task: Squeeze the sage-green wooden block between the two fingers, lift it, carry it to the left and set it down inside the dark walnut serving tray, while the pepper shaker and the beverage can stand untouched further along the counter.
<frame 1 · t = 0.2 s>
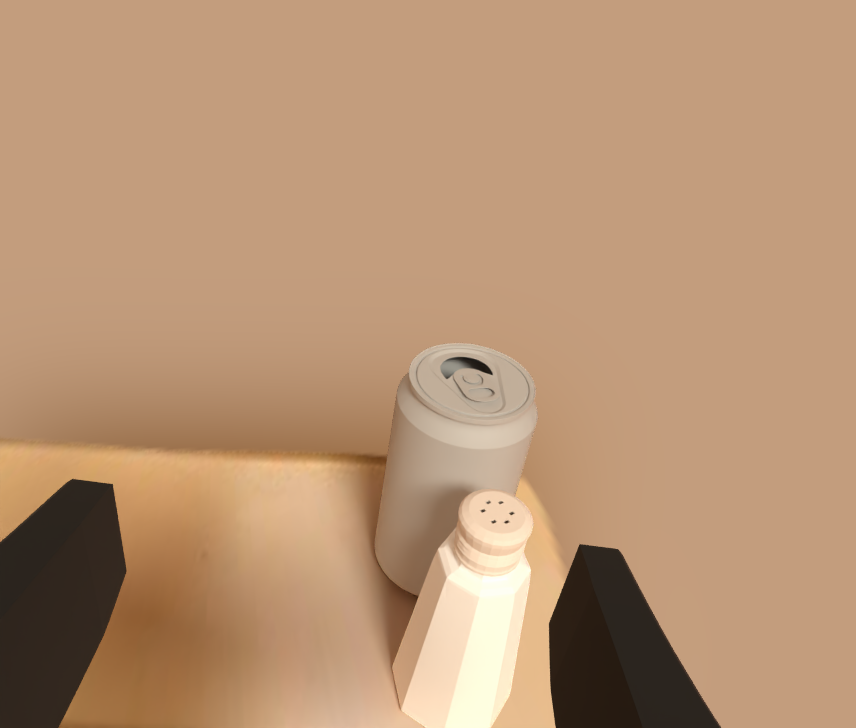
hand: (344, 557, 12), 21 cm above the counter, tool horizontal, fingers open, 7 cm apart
beverage can: (432, 561, 39), on the counter
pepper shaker: (449, 685, 34), on the counter
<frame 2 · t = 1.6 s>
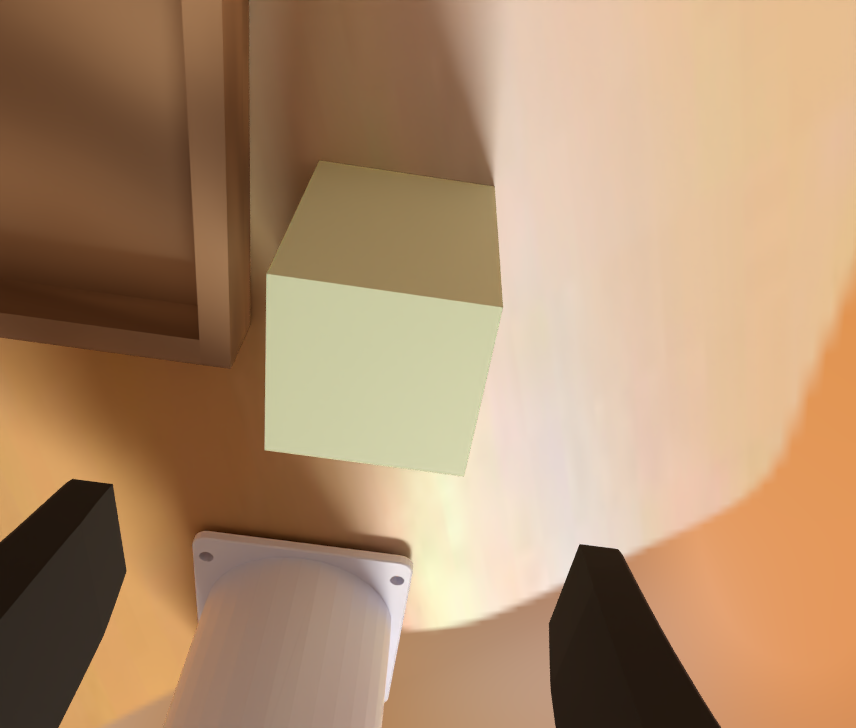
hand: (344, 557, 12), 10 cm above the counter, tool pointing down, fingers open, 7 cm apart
walnut tray: (22, 87, 18), on the counter
sage block: (397, 251, 20), on the counter
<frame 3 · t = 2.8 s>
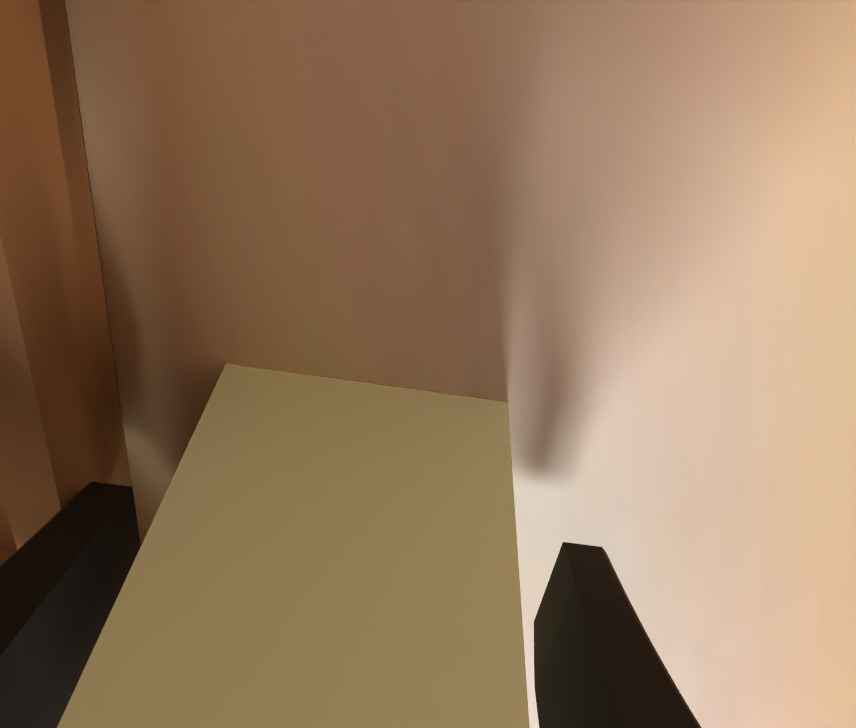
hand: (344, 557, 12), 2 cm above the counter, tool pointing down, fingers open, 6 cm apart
sage block: (356, 482, 13), on the counter
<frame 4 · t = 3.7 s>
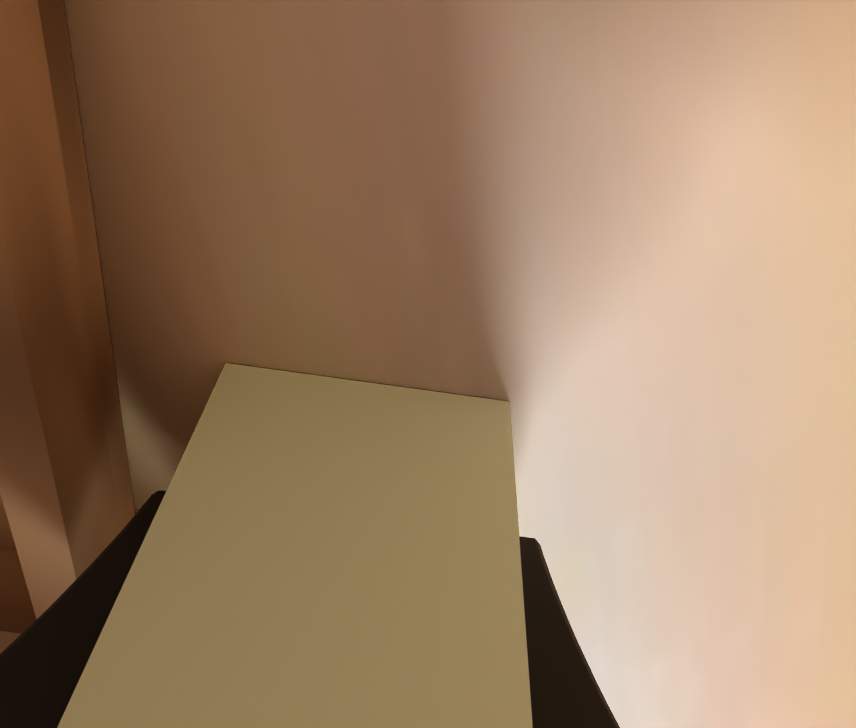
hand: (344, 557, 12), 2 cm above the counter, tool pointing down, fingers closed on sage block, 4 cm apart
sage block: (357, 483, 13), on the counter, touching gripper
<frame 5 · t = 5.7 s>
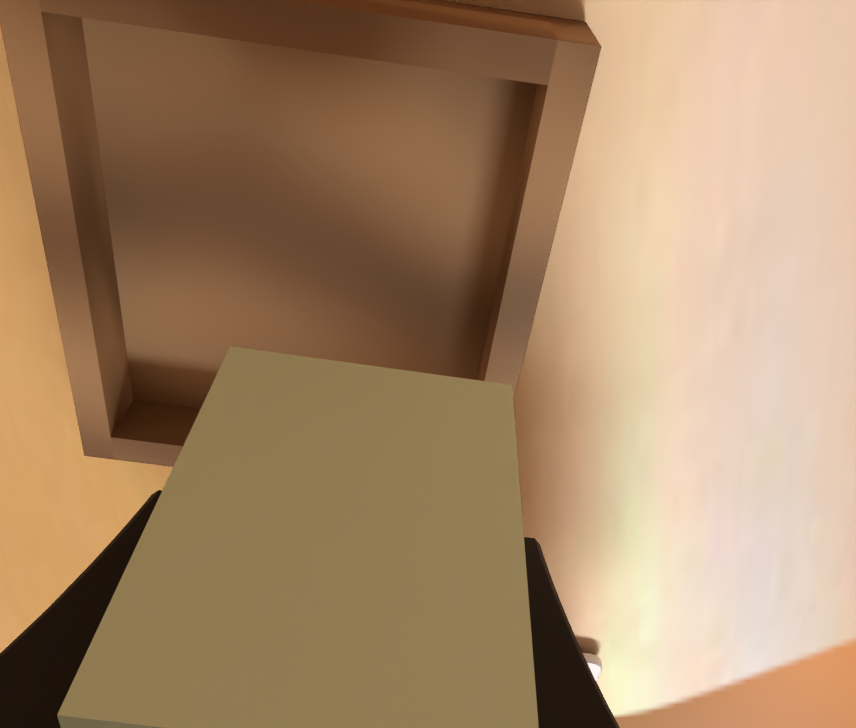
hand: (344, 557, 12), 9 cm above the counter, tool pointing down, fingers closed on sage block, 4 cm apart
walnut tray: (309, 247, 18), on the counter
sage block: (360, 468, 13), point 7 cm above the counter, touching gripper
when the fingers open (3 cm above the counter, at t = 8.1 s): sage block stays where it is, resting on walnut tray.
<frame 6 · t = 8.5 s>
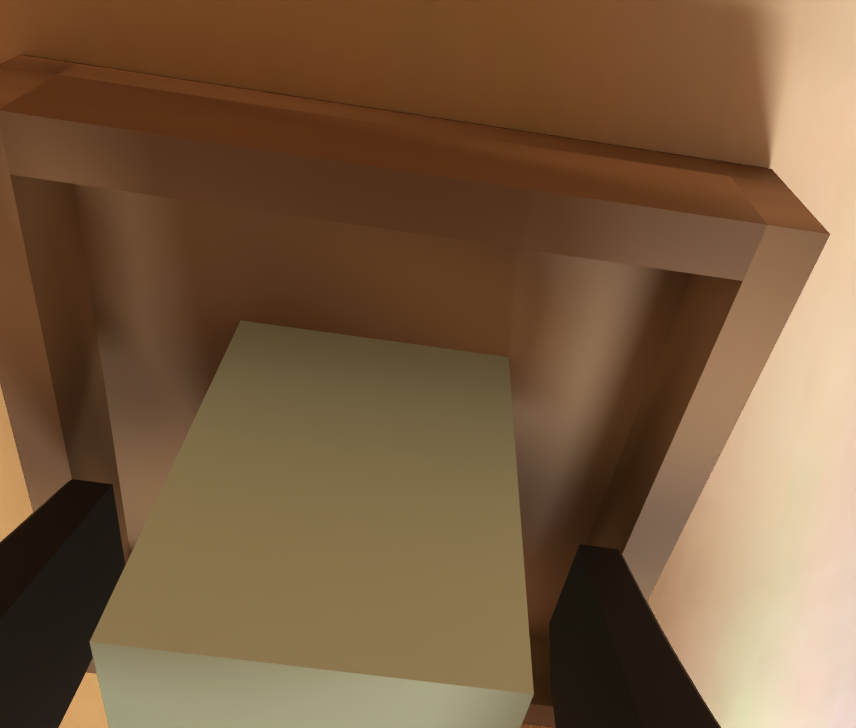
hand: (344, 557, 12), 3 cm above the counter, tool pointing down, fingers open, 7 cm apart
walnut tray: (367, 424, 14), on the counter
sage block: (364, 439, 14), point 1 cm above the counter, touching walnut tray
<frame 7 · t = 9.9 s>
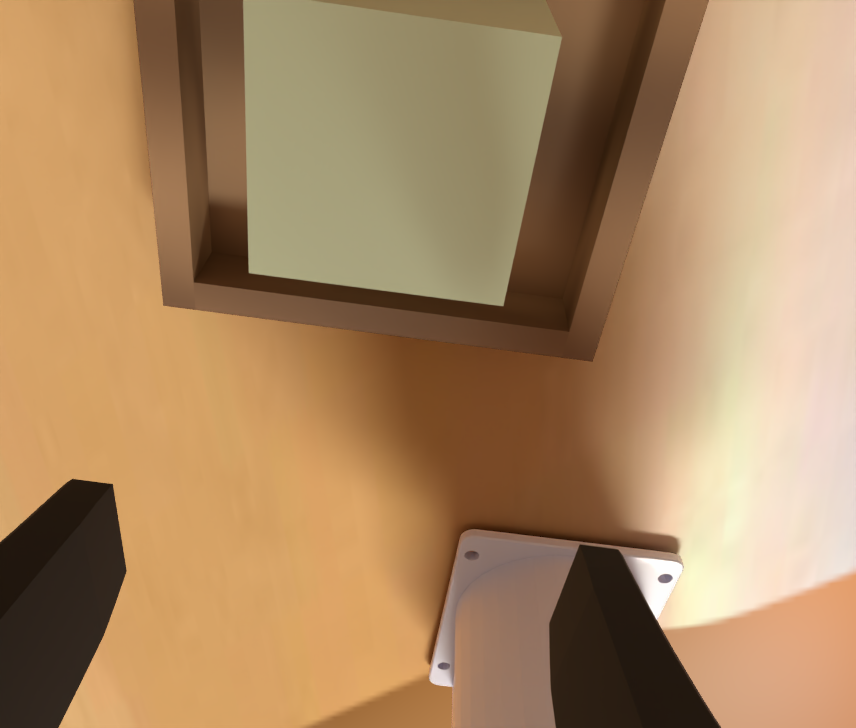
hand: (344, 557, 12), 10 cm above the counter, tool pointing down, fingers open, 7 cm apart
walnut tray: (412, 67, 17), on the counter
sage block: (411, 67, 17), point 1 cm above the counter, touching walnut tray
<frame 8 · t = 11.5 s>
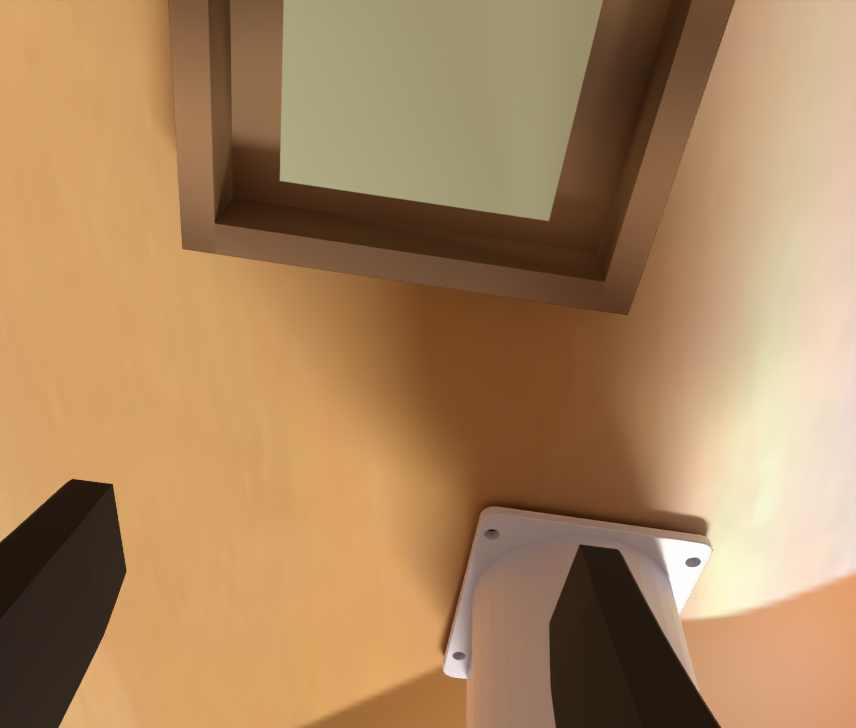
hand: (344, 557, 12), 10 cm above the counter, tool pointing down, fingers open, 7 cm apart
walnut tray: (447, 0, 17), on the counter
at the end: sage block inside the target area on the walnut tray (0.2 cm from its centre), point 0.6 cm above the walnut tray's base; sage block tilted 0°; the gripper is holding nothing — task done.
